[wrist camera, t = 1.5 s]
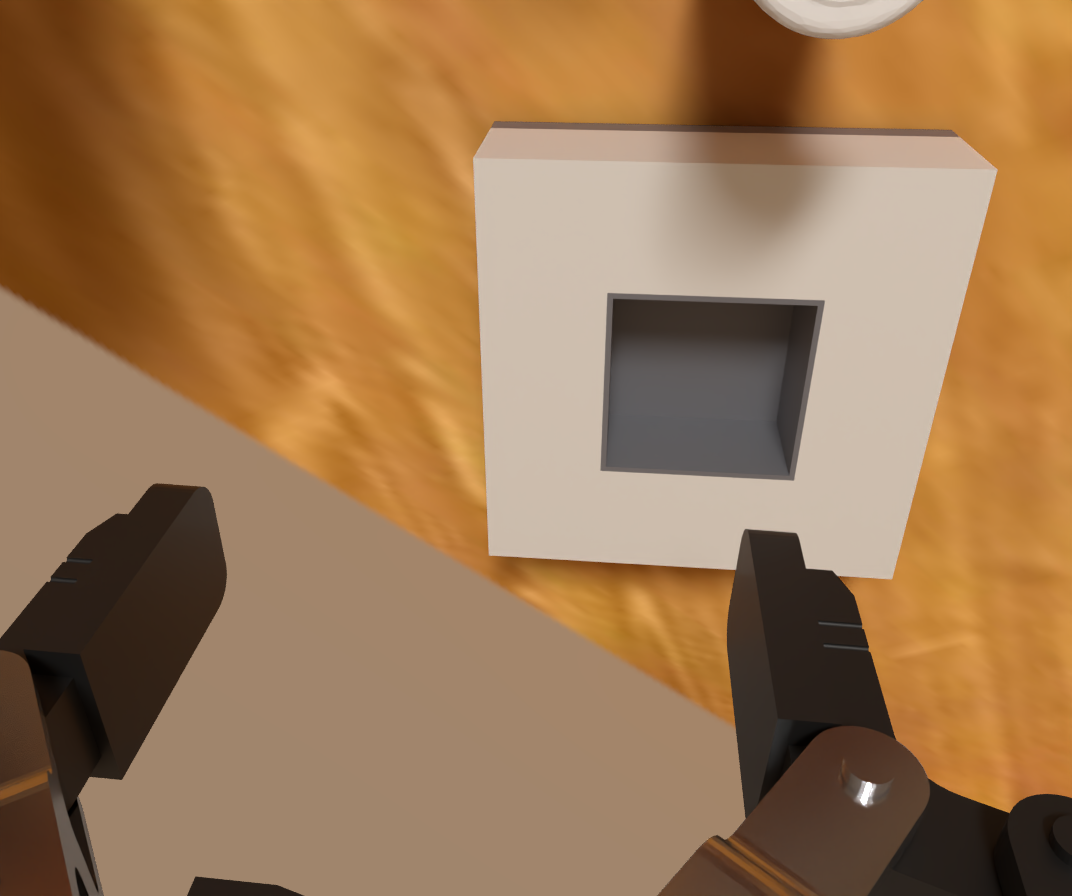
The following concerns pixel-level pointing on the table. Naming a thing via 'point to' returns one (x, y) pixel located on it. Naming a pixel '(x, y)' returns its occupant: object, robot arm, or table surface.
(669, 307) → the socket block
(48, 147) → the table surface
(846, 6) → the sprinkles bottle
